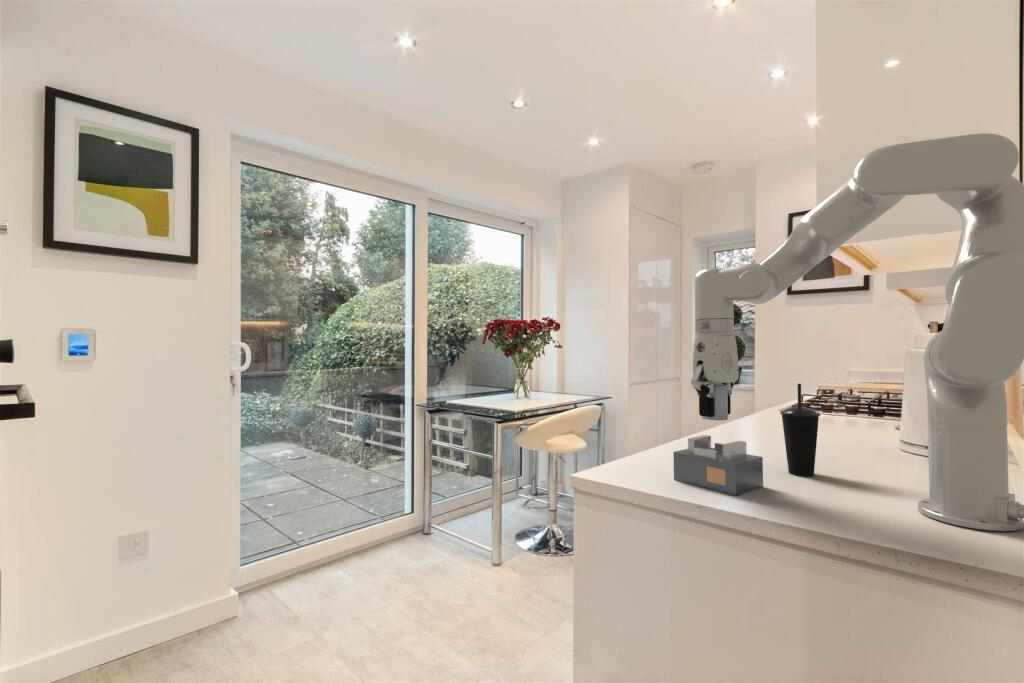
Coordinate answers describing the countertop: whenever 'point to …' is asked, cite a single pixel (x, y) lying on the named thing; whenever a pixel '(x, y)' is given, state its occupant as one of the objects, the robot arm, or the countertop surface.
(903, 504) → the countertop surface
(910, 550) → the countertop surface
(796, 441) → the drinking cup
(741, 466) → the grey labeled bracket block
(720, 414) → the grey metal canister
